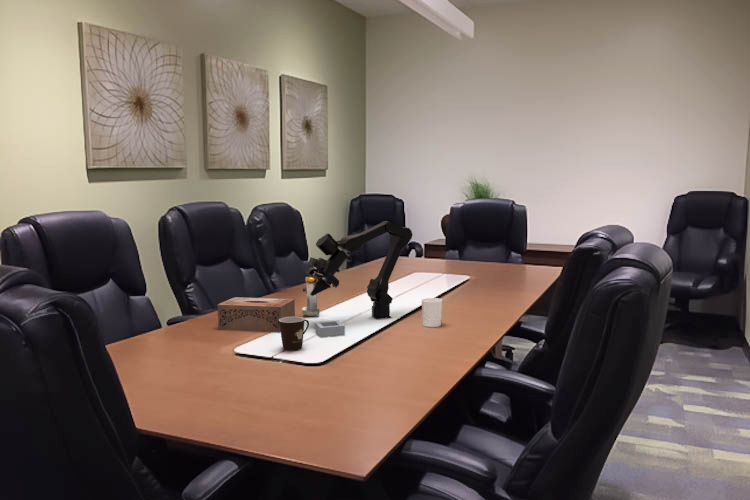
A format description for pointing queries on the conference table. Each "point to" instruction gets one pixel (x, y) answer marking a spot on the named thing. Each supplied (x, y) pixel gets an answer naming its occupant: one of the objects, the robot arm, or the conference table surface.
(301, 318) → the coffee mug
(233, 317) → the tissue box cover
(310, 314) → the valve
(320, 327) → the grey square hollow block
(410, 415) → the conference table surface
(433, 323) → the white cup
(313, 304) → the gold-capped bottle
